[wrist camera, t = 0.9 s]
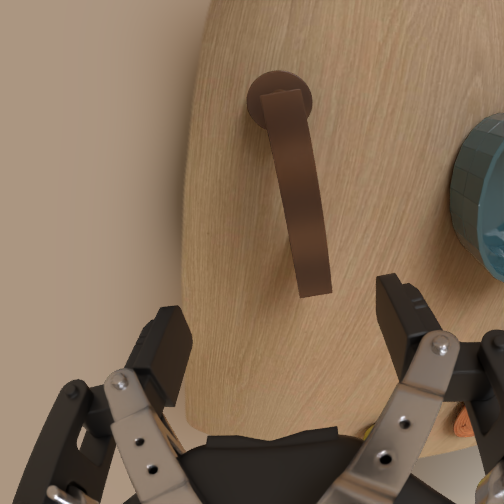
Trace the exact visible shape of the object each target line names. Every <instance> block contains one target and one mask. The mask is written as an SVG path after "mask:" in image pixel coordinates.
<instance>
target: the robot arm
mask: <svg viewBox="0 0 504 504" xmlns="http://www.w3.org/2000/svg"><path fill="white" fill-rule="evenodd" d="M376 315H377V320H378V324H379V326H380V329H381V331H382V334H383V337H384V339H385V342H386V345H387V348H388V350H389V353H390V356H391V359H392V362H393V365H394V367H395V370H396V373H397V376H398V379H399V383H398V384H397V385H396V387H395V389H394V391H393V393H392V395H391V396H390V398H389V400H388V402H387V404H386V406H385V407H384V409H383V411H382V413H381V414H380V416H379V418H378V420H377V421H376V423H375V425H374V426H373V428H372V430H371V431H370V433H369V435H368V436H367V438H366V439H365V440H362V439H360V438H356V437H353V436H347V435H338V428H337V426H335V427H329V428H322V429H314V430H306V431H302V432H299V433H296V434H293V435H289V436H286V437H283V438H280V439H276V440H272V441H266V440H260V439H254V438H249V437H243V436H238V435H234V436H208V437H207V442H206V444H205V445H202V446H198V447H196V448H193V449H191V450H189V451H187V452H186V451H185V450H184V448H183V446H182V445H181V443H180V442H179V440H178V438H177V436H176V435H175V433H174V431H173V430H172V428H171V426H170V424H169V423H168V421H167V419H166V417H165V416H164V414H163V413H162V412H163V409H164V407H175V404H176V401H177V397H178V394H179V390H180V387H181V383H182V380H183V376H184V373H185V370H186V366H187V363H188V359H189V356H190V353H191V349H192V344H193V340H192V334H191V332H190V329H189V327H188V325H187V322H186V320H185V318H184V315H183V313H182V310H181V308H180V307H179V306H178V305H177V306H168V307H161V308H160V309H159V311H158V313H157V315H156V317H155V319H154V320H151V321H150V322H149V323H148V324H147V325H146V326H145V327H144V328H143V330H142V332H141V334H140V336H139V338H138V340H137V342H136V345H135V346H134V348H133V350H132V353H131V354H130V356H129V359H128V360H127V363H126V365H125V367H124V368H123V369H119V370H116V371H114V372H113V373H111V374H110V375H109V376H108V377H107V379H106V380H105V382H104V384H103V385H99V386H95V387H91V388H89V387H88V386H87V384H86V383H85V382H84V381H83V380H79V379H77V380H73V381H70V382H68V383H67V384H66V385H65V386H64V387H63V388H62V390H61V391H60V393H59V395H58V397H57V399H56V401H55V403H54V405H53V407H52V409H51V411H50V413H49V415H48V417H47V420H46V422H45V424H44V426H43V428H42V430H41V433H40V435H39V437H38V439H37V442H36V444H35V446H34V449H33V451H32V453H31V456H30V458H29V461H28V463H27V465H26V468H25V470H24V473H23V476H22V478H21V481H20V483H19V486H18V489H17V492H16V495H15V497H14V500H13V503H12V504H100V502H101V498H102V494H103V490H104V487H105V483H106V479H107V475H108V472H109V468H110V464H111V461H112V458H113V454H114V451H115V448H116V444H117V447H118V449H119V452H120V455H121V458H122V460H123V463H124V465H125V468H126V470H127V473H128V475H129V478H130V480H131V482H132V484H133V487H134V489H135V491H136V493H135V494H134V495H133V496H132V497H131V498H129V499H128V500H127V501H126V502H124V503H123V504H455V503H454V502H452V501H451V500H449V499H448V498H446V497H445V496H443V495H442V494H440V493H439V492H437V491H436V490H434V489H433V488H431V487H430V486H429V485H427V484H426V483H424V482H423V481H421V480H420V479H419V478H417V477H416V476H414V475H413V474H412V473H411V471H412V469H413V467H414V465H415V463H416V461H417V459H418V457H419V455H420V453H421V451H422V449H423V447H424V445H425V443H426V440H427V438H428V436H429V434H430V432H431V429H432V427H433V425H434V422H435V420H436V417H437V415H438V412H439V410H440V407H441V405H442V402H456V401H464V404H465V407H466V410H467V413H468V416H469V419H470V422H471V425H472V428H473V432H474V435H475V438H476V442H477V445H478V449H479V452H480V456H481V459H482V463H483V467H484V471H485V475H486V476H485V477H484V478H483V479H482V480H481V481H480V482H479V484H478V486H477V489H476V493H475V504H504V331H503V330H491V331H489V332H487V333H486V334H485V335H484V336H483V338H482V341H481V342H459V341H458V339H457V338H456V336H454V335H453V334H452V333H450V332H447V331H443V330H442V328H441V326H440V325H439V323H438V321H437V319H436V318H435V316H434V314H433V313H432V311H431V309H430V308H429V306H428V304H427V303H426V301H425V299H424V298H423V296H422V295H421V293H420V291H419V290H418V289H417V288H415V287H414V286H413V285H411V284H410V283H407V284H402V283H401V282H400V280H399V278H398V277H397V275H396V274H395V273H392V274H386V275H381V276H377V277H376ZM82 426H83V427H85V429H86V430H87V431H86V433H85V436H84V439H83V442H82V445H81V447H80V450H78V448H77V438H78V436H79V433H80V431H81V428H82Z"/></svg>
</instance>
